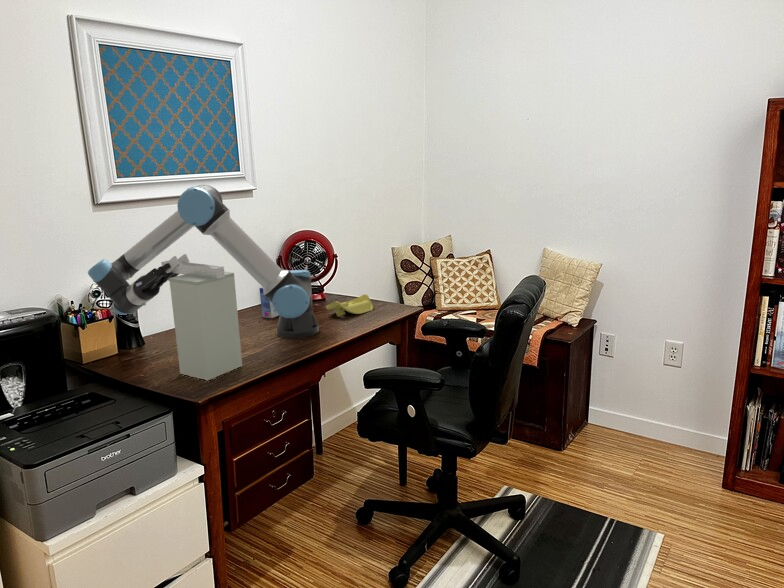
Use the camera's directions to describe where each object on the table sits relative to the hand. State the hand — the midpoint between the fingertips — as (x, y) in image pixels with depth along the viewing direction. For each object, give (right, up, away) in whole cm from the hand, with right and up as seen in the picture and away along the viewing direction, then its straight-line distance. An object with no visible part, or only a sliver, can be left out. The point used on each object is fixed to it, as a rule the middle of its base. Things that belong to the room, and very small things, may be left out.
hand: (181, 259), depth 188 cm
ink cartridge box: (+16, -19, +64) cm, 69 cm away
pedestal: (+8, -34, +4) cm, 35 cm away
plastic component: (+46, -18, +64) cm, 81 cm away
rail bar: (+4, -5, -1) cm, 6 cm away
